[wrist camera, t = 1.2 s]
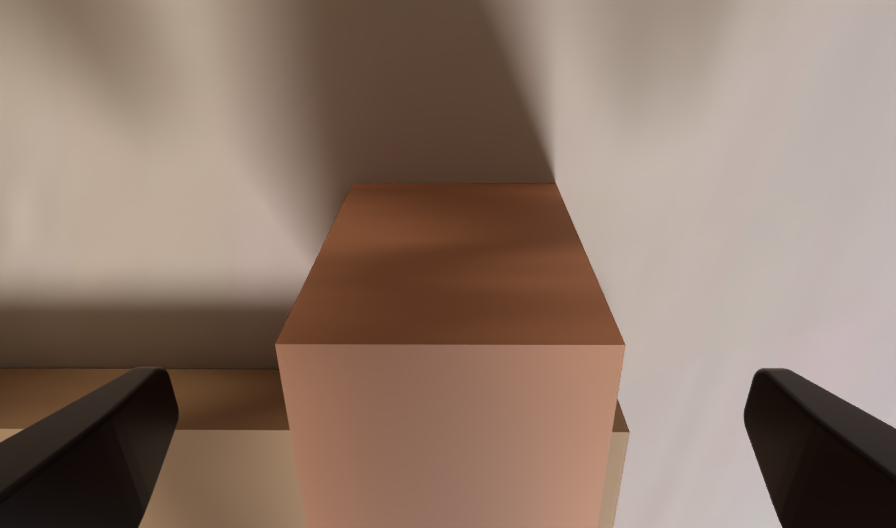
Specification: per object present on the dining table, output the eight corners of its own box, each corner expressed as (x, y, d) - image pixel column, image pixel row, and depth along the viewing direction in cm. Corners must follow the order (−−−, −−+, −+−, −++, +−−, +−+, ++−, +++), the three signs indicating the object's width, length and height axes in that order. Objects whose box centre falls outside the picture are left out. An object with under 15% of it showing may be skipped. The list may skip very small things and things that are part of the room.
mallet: (555, 183, 12) (625, 345, 7) (527, 555, 17) (554, 802, 12) (352, 183, 12) (274, 344, 7) (385, 553, 17) (353, 799, 12)
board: (607, 370, 14) (630, 434, 12) (579, 569, 17) (594, 644, 15) (-118, 367, 14) (-206, 429, 12) (-10, 563, 17) (-66, 635, 15)
